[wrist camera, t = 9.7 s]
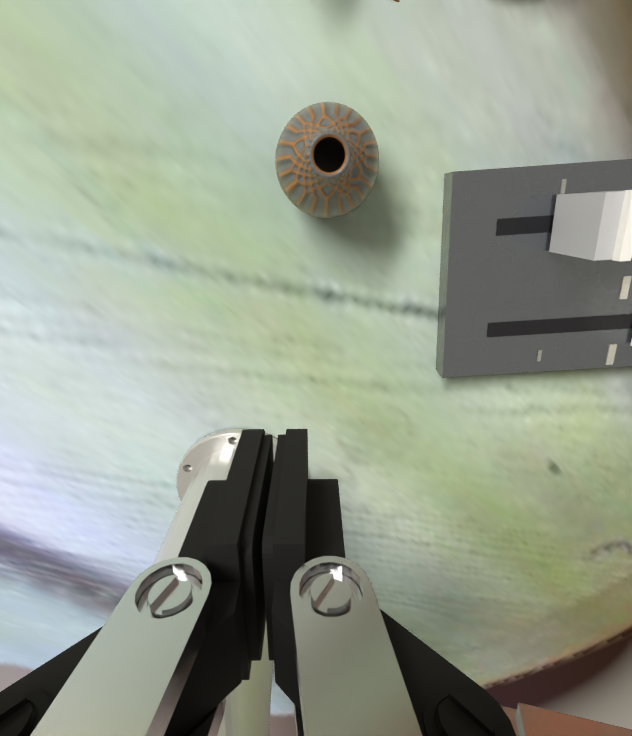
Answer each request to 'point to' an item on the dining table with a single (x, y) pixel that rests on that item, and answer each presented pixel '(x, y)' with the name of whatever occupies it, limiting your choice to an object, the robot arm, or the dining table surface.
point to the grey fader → (593, 225)
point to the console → (527, 276)
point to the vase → (327, 160)
